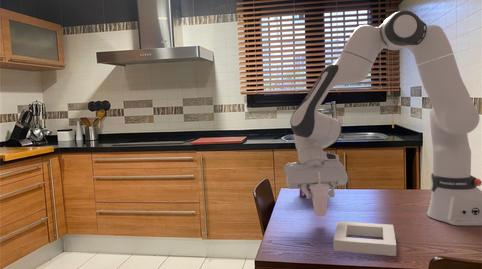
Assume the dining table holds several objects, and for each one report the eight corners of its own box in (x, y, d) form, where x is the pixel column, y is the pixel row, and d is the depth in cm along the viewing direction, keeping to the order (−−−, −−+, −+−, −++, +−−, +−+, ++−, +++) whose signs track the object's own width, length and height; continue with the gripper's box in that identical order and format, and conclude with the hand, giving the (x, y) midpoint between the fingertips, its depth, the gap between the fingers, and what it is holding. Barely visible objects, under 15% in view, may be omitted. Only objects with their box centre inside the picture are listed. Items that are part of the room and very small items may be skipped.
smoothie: (331, 211, 130) (330, 169, 129) (329, 217, 124) (327, 174, 123) (312, 210, 132) (310, 169, 131) (309, 216, 126) (307, 174, 125)
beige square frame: (393, 234, 118) (393, 224, 118) (396, 256, 103) (396, 245, 103) (338, 230, 123) (338, 221, 123) (333, 250, 108) (333, 240, 108)
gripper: (283, 158, 133) (290, 194, 124) (342, 154, 134) (353, 189, 125) (281, 168, 137) (287, 204, 129) (339, 165, 139) (349, 199, 130)
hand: (320, 197), depth 127 cm, fingers closed on smoothie, 6 cm apart
